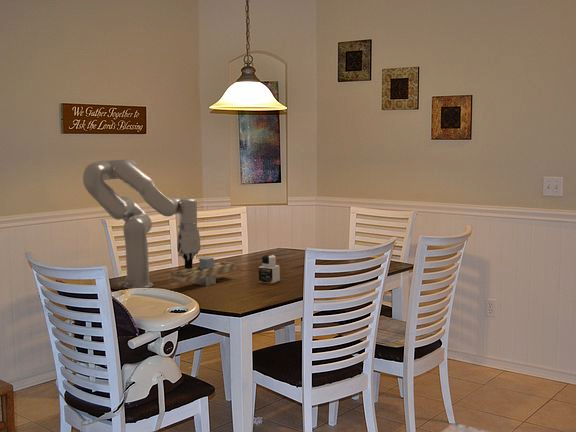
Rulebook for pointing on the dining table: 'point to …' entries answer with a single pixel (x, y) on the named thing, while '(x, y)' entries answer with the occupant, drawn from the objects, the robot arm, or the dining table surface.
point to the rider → (206, 263)
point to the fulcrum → (206, 280)
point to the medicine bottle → (269, 270)
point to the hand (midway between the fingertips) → (188, 268)
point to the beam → (202, 272)
